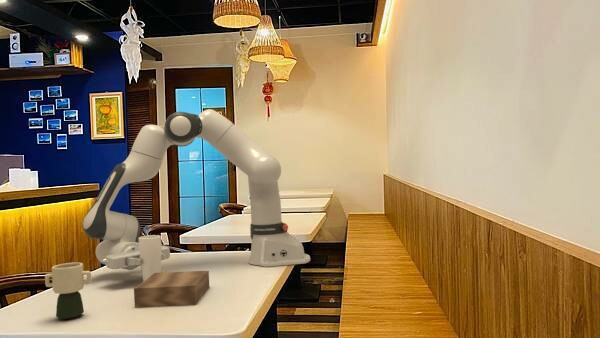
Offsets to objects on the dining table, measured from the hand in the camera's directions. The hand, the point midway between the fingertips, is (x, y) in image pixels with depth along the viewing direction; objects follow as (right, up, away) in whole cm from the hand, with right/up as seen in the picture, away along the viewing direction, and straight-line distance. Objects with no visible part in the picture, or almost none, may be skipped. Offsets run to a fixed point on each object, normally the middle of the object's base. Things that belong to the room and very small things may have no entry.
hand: (152, 259), depth 151 cm
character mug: (-12, -9, -29) cm, 33 cm away
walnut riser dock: (+11, -8, -14) cm, 19 cm away
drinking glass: (0, -8, +1) cm, 8 cm away
